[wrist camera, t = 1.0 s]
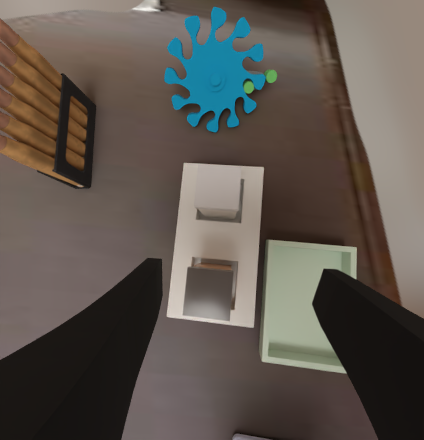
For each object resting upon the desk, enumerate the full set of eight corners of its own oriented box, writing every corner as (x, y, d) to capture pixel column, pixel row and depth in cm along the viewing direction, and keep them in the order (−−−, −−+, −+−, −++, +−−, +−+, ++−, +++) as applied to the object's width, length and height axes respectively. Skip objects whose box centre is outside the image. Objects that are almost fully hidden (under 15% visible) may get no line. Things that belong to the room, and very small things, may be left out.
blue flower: (167, 131, 23) (157, 0, 17) (173, 119, 27) (168, 13, 21) (265, 136, 23) (292, 12, 17) (255, 123, 28) (273, 22, 22)
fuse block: (250, 317, 21) (253, 327, 18) (174, 308, 22) (166, 316, 19) (259, 176, 23) (263, 167, 20) (188, 171, 24) (184, 162, 21)
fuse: (235, 220, 22) (238, 209, 15) (203, 217, 22) (193, 206, 16) (238, 189, 22) (241, 166, 16) (206, 187, 23) (198, 163, 16)
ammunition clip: (90, 188, 24) (-41, 133, 12) (75, 189, 24) (-68, 135, 13) (96, 105, 26) (-18, -16, 14) (82, 106, 26) (-43, -13, 14)
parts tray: (343, 362, 20) (355, 374, 18) (258, 350, 21) (261, 361, 19) (344, 247, 21) (356, 247, 19) (265, 240, 22) (268, 239, 20)
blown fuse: (229, 298, 21) (229, 321, 15) (196, 294, 21) (182, 315, 15) (232, 264, 21) (233, 272, 15) (199, 261, 22) (187, 267, 15)
